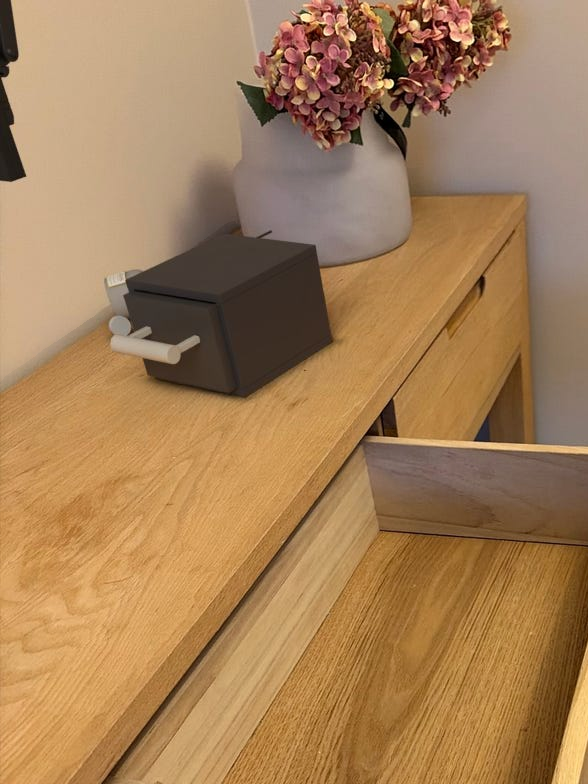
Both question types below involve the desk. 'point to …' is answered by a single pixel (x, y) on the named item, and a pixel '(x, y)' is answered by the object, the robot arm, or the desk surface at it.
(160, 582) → the desk surface
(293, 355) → the cabinet
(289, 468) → the desk surface
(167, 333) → the drawer
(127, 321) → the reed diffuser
